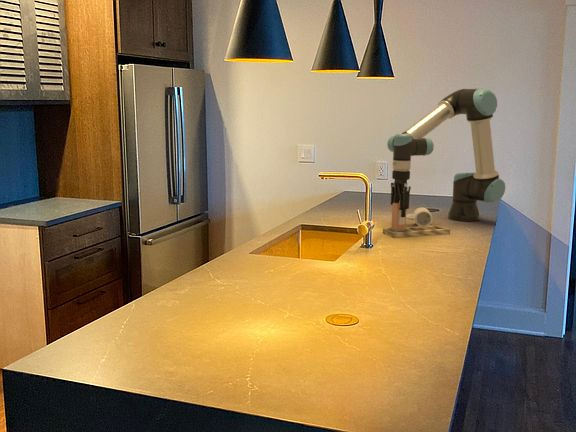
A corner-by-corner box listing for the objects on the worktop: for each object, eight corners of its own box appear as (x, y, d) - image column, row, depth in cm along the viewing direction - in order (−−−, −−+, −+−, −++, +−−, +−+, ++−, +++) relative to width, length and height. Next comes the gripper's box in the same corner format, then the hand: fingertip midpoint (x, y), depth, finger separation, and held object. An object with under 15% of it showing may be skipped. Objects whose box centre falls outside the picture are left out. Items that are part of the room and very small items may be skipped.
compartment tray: (437, 229, 299) (438, 224, 298) (450, 234, 290) (450, 229, 289) (382, 232, 290) (383, 228, 289) (393, 237, 281) (393, 232, 280)
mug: (429, 223, 312) (430, 207, 311) (432, 228, 302) (433, 211, 301) (404, 223, 313) (405, 206, 312) (405, 227, 304) (406, 210, 302)
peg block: (400, 229, 289) (401, 202, 287) (405, 231, 285) (406, 204, 283) (391, 229, 288) (392, 203, 286) (396, 232, 284) (397, 204, 281)
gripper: (384, 168, 289) (381, 219, 293) (403, 172, 272) (400, 227, 276) (399, 167, 291) (396, 219, 295) (419, 172, 275) (416, 226, 279)
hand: (398, 223), depth 286 cm, fingers closed on peg block, 4 cm apart
